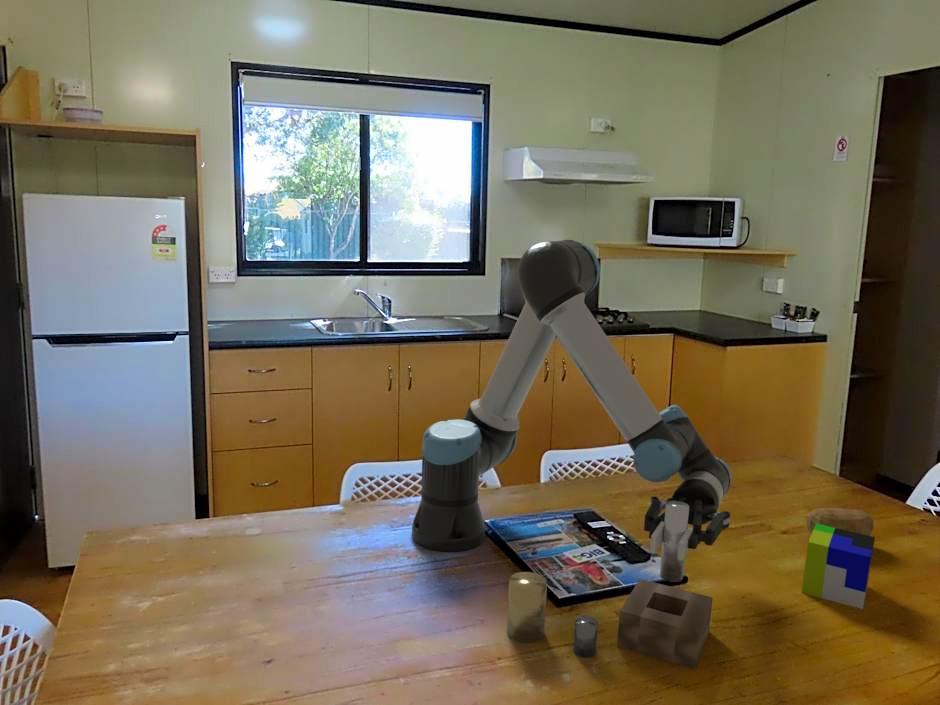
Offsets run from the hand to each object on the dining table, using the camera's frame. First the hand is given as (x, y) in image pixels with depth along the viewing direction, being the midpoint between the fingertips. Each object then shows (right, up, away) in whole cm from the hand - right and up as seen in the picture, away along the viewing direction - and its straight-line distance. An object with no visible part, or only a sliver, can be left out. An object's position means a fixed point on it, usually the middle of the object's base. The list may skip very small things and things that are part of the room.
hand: (666, 548), depth 112 cm
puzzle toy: (+38, -15, +26) cm, 49 cm away
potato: (+48, -12, +45) cm, 67 cm away
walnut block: (+2, -17, +8) cm, 18 cm away
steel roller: (+2, -6, +6) cm, 9 cm away
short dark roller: (-12, -17, +4) cm, 21 cm away
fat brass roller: (-21, -16, +8) cm, 27 cm away
